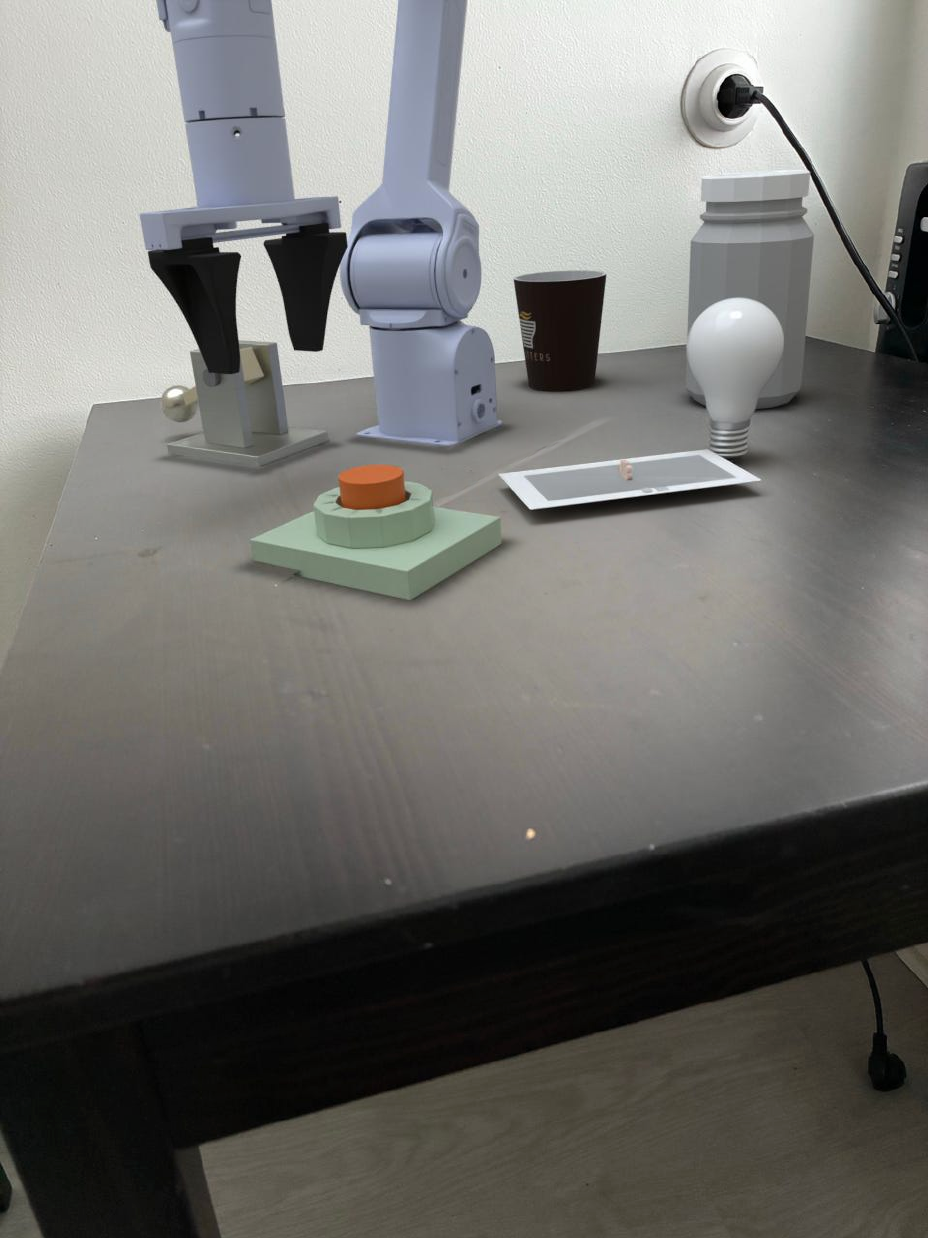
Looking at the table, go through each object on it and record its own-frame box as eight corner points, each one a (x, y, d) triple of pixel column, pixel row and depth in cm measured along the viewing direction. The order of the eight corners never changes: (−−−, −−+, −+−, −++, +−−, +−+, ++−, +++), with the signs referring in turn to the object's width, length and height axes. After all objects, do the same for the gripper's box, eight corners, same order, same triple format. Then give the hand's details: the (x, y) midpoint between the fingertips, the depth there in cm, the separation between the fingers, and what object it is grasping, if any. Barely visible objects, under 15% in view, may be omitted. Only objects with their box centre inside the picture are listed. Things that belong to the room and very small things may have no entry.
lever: (163, 430, 82) (147, 396, 82) (190, 422, 85) (175, 388, 84) (242, 386, 75) (225, 348, 75) (269, 378, 78) (253, 341, 77)
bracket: (168, 458, 79) (149, 352, 76) (240, 434, 85) (225, 335, 82) (260, 472, 74) (243, 359, 71) (329, 445, 80) (317, 340, 77)
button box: (501, 544, 57) (499, 486, 56) (410, 601, 51) (404, 537, 49) (354, 519, 63) (348, 465, 62) (254, 567, 56) (244, 508, 55)
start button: (418, 498, 56) (416, 468, 55) (379, 517, 53) (376, 486, 53) (368, 490, 58) (365, 461, 57) (328, 509, 55) (324, 478, 55)
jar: (663, 396, 89) (668, 177, 82) (752, 382, 92) (765, 169, 85) (730, 417, 81) (744, 175, 73) (826, 400, 84) (848, 167, 77)
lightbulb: (780, 450, 72) (794, 291, 67) (766, 476, 66) (780, 305, 62) (692, 445, 74) (699, 290, 69) (672, 469, 69) (678, 304, 64)
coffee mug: (611, 390, 93) (611, 277, 88) (518, 395, 93) (514, 283, 89) (597, 367, 103) (597, 265, 99) (514, 371, 103) (511, 270, 99)
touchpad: (498, 489, 67) (497, 458, 66) (707, 464, 69) (708, 433, 69) (530, 526, 60) (529, 492, 59) (760, 497, 62) (763, 463, 62)
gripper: (272, 125, 65) (298, 339, 70) (86, 126, 54) (134, 379, 60) (356, 117, 61) (377, 343, 67) (174, 117, 50) (217, 387, 56)
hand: (268, 360), depth 63 cm, fingers open, 7 cm apart
